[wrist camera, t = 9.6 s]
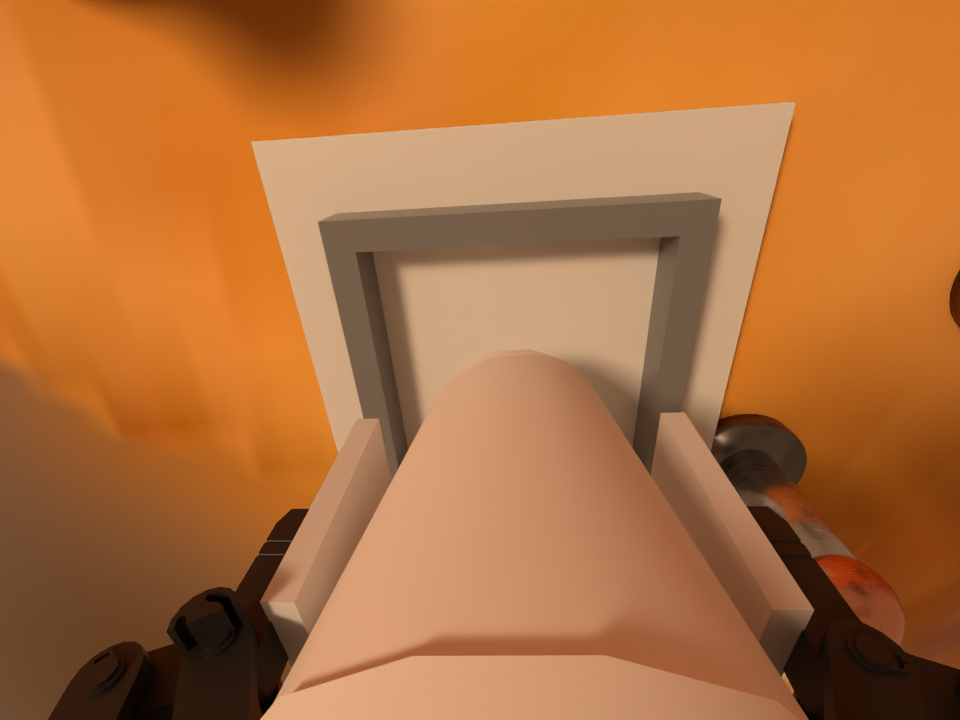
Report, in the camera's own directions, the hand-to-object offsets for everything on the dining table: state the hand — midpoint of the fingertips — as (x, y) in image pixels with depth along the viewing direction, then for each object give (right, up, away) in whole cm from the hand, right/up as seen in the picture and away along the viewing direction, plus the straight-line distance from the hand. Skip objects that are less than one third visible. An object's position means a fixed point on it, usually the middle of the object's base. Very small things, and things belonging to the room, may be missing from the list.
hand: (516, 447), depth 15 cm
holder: (0, +3, +6) cm, 7 cm away
